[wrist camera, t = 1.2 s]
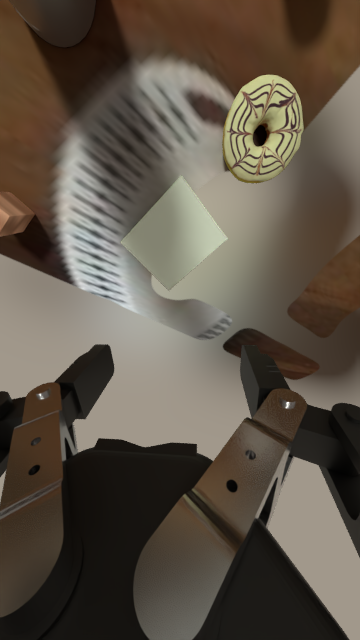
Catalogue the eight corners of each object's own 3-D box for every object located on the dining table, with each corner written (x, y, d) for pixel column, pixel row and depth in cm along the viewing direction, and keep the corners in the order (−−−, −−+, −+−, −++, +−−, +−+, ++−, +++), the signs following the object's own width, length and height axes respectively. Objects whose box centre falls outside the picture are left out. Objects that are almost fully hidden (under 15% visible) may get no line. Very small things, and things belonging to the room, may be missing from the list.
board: (181, 175, 31) (181, 175, 30) (226, 238, 36) (227, 238, 35) (121, 241, 35) (120, 242, 34) (168, 288, 40) (168, 290, 39)
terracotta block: (10, 192, 31) (-22, 190, 26) (35, 214, 33) (9, 216, 28) (-2, 211, 33) (-34, 213, 27) (23, 231, 34) (-4, 237, 29)
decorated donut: (303, 86, 27) (321, 71, 24) (281, 184, 32) (294, 182, 29) (225, 84, 26) (232, 67, 23) (216, 183, 32) (222, 181, 29)
